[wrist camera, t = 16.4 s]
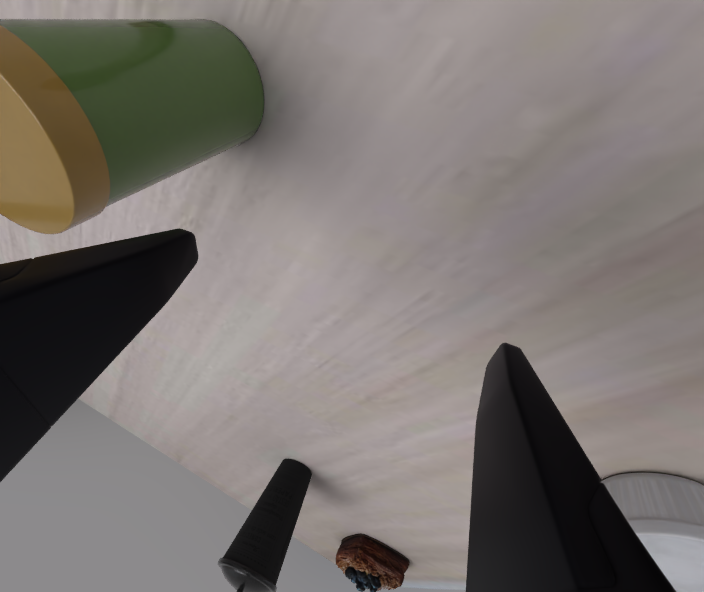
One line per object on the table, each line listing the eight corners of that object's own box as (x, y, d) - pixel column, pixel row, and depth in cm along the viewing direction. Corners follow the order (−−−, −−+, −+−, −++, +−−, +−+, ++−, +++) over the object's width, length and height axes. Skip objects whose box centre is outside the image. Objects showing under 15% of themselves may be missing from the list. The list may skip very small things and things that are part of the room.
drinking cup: (289, 448, 48) (193, 641, 33) (330, 478, 49) (256, 675, 34) (265, 458, 53) (172, 629, 38) (303, 485, 54) (227, 659, 39)
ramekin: (725, 457, 24) (767, 540, 21) (764, 537, 28) (807, 621, 24) (556, 466, 31) (564, 530, 27) (604, 530, 35) (617, 595, 31)
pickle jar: (219, -14, 17) (-102, -52, 8) (287, 120, 20) (107, 203, 11) (147, 56, 21) (-136, 84, 12) (214, 162, 24) (31, 252, 15)
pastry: (416, 561, 58) (409, 605, 54) (385, 569, 66) (376, 607, 62) (359, 529, 58) (348, 571, 53) (335, 541, 66) (323, 577, 62)
